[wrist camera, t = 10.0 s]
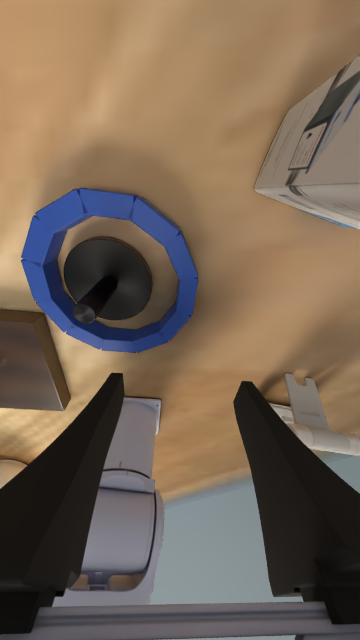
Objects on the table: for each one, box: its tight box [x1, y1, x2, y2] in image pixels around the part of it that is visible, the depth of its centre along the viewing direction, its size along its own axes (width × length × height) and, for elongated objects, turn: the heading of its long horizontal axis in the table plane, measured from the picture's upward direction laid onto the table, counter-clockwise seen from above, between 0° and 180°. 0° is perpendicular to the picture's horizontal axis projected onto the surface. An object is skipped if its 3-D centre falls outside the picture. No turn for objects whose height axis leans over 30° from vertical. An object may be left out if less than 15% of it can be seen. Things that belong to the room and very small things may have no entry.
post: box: [64, 237, 152, 323], centre depth 16 cm, size 8×8×6 cm
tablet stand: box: [269, 373, 360, 456], centre depth 25 cm, size 9×8×8 cm
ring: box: [21, 188, 198, 353], centre depth 18 cm, size 15×15×2 cm
